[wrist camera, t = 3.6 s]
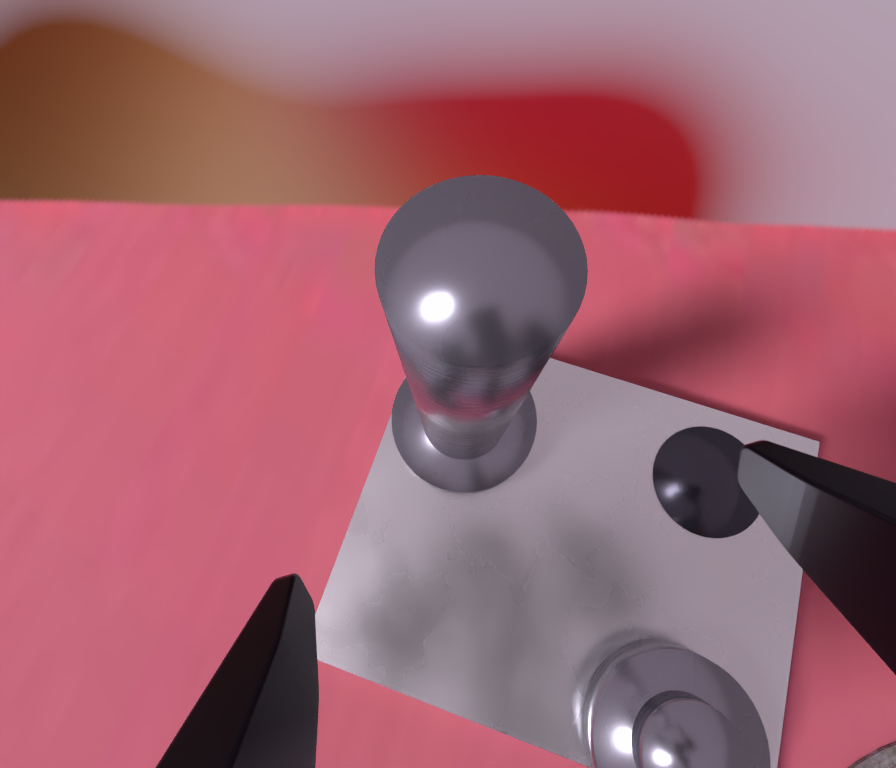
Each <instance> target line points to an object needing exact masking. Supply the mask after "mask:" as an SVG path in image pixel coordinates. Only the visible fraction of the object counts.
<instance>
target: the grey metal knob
mask: <svg viewBox="0 0 896 768" xmlns="http://www.w3.org/2000/svg"><path fill="white" fill-rule="evenodd" d="M582 731H583V738H584V743H585V747H586V751H587V754H588V757H589V759H590V762H591V764H592V767H593V768H771V766H770V751H769V745H768V739H767V736H766V732H765V728H764V725H763V723H762V720H761V718H760V715H759V713H758V711H757V709H756V707H755V705H754V703H753V702H752V700H751V699H750V697H749V696H748V694H747V693H746V691H745V690H744V689H743V688H742V687H741V685H740V684H739V683H738V682H737V681H736V680H735V679H734V678H733V677H732V676H731V675H730V674H729V673H728V672H726V671H725V670H724V669H722V668H721V667H720V666H719V665H717V664H715V663H713V662H712V661H710V660H708V659H707V658H705V657H703V656H701V655H700V654H698V653H696V652H694V651H692V650H691V649H689V648H687V647H685V646H682V645H680V644H678V643H674V642H671V641H668V640H661V639H644V640H637V641H634V642H631V643H628V644H626V645H624V646H621V647H619V648H618V649H616V650H615V651H613V652H612V653H611V654H610V655H608V656H607V657H606V658H605V659H604V660H603V661H602V663H601V664H600V665H599V666H598V667H597V669H596V671H595V672H594V674H593V676H592V677H591V680H590V682H589V684H588V687H587V690H586V693H585V697H584V702H583V708H582Z"/></svg>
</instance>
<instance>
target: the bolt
mask: <svg viewBox="0 0 896 768" xmlns="http://www.w3.org/2000/svg"><path fill="white" fill-rule="evenodd" d="M587 272H588V270H587V258H586V254H585V250H584V246H583V243H582V240H581V238H580V235H579V233H578V231H577V230H576V228H575V226H574V224H573V223H572V221H571V220H570V219H569V217H568V216H567V215H566V213H565V212H564V211H563V210H562V209H561V208H560V207H559V206H558V205H557V204H556V203H555V202H553V201H552V200H551V199H550V198H548V197H547V196H546V195H544V194H542V193H541V192H539V191H538V190H536V189H534V188H532V187H530V186H528V185H525V184H523V183H520V182H517V181H514V180H511V179H507V178H502V177H497V176H487V175H477V176H476V175H472V176H463V177H457V178H453V179H449V180H445V181H442V182H440V183H437V184H434V185H432V186H430V187H428V188H426V189H424V190H422V191H421V192H419V193H418V194H416V195H415V196H413V197H412V198H411V199H409V200H408V201H407V202H406V203H405V204H404V205H402V207H401V208H400V209H399V210H398V211H397V212H396V213H395V214H394V216H393V217H392V218H391V220H390V221H389V223H388V224H387V226H386V228H385V230H384V232H383V234H382V236H381V239H380V242H379V245H378V248H377V253H376V258H375V279H376V286H377V290H378V294H379V298H380V301H381V304H382V307H383V309H384V312H385V315H386V318H387V321H388V324H389V327H390V330H391V333H392V336H393V339H394V342H395V345H396V348H397V351H398V354H399V357H400V360H401V363H402V366H403V369H404V372H405V375H406V378H405V380H404V381H403V383H402V385H401V386H400V388H399V390H398V392H397V395H396V397H395V401H394V404H393V409H392V432H393V437H394V441H395V444H396V446H397V449H398V451H399V453H400V455H401V457H402V458H403V460H404V461H405V463H406V464H407V465H408V467H409V468H410V469H411V470H412V471H413V472H414V473H415V474H416V475H417V476H418V477H419V478H420V479H422V480H423V481H424V482H425V483H427V484H429V485H430V486H432V487H434V488H437V489H439V490H441V491H445V492H448V493H454V494H474V493H479V492H483V491H486V490H489V489H491V488H493V487H495V486H497V485H499V484H501V483H502V482H504V481H505V480H507V479H508V478H509V477H510V476H512V475H513V474H514V473H515V472H516V471H517V470H518V469H519V468H520V467H521V465H522V464H523V463H524V461H525V460H526V458H527V457H528V455H529V453H530V451H531V448H532V446H533V443H534V440H535V435H536V428H537V413H536V408H535V403H534V400H533V397H532V394H531V392H530V390H531V388H532V386H533V385H534V383H535V381H536V380H537V378H538V376H539V375H540V373H541V372H542V370H543V368H544V367H545V365H546V363H547V362H548V360H549V358H550V357H551V355H552V353H553V352H554V350H555V349H556V347H557V345H558V344H559V342H560V340H561V339H562V337H563V335H564V334H565V332H566V330H567V329H568V327H569V325H570V324H571V322H572V321H573V319H574V317H575V315H576V313H577V312H578V310H579V308H580V305H581V303H582V300H583V297H584V294H585V289H586V285H587Z"/></svg>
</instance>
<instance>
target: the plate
mask: <svg viewBox="0 0 896 768" xmlns="http://www.w3.org/2000/svg"><path fill="white" fill-rule="evenodd" d="M405 378H406V377H405ZM530 392H531V394H532V397H533V400H534V403H535V408H536V413H537V428H536V435H535V440H534V443H533V446H532V448H531V451H530V453H529V455H528V457H527V458H526V460H525V461H524V463H523V464H522V465H521V467H520V468H519V469H518V470H517V471H516V472H515V473H514V474H513V475H512V476H510V477H509V478H508V479H507V480H505V481H504V482H502V483H501V484H499V485H497V486H495V487H493V488H491V489H489V490H486V491H483V492H479V493H474V494H454V493H448V492H445V491H441V490H439V489H437V488H434V487H432V486H430V485H429V484H427V483H425V482H424V481H423V480H422V479H420V478H419V477H418V476H417V475H416V474H415V473H414V472H413V471H412V470H411V469H410V468H409V467H408V465H407V464H406V463H405V461H404V460H403V458H402V457H401V455H400V453H399V451H398V449H397V446H396V444H395V441H394V437H393V432H392V414H391V417H390V419H389V422H388V425H387V427H386V430H385V433H384V435H383V438H382V440H381V443H380V446H379V448H378V451H377V454H376V456H375V459H374V462H373V464H372V467H371V470H370V472H369V475H368V477H367V480H366V483H365V485H364V488H363V491H362V493H361V496H360V499H359V501H358V504H357V506H356V509H355V512H354V514H353V517H352V520H351V522H350V525H349V528H348V530H347V533H346V536H345V538H344V541H343V543H342V546H341V549H340V551H339V554H338V557H337V559H336V562H335V565H334V567H333V570H332V572H331V575H330V578H329V580H328V583H327V586H326V588H325V591H324V594H323V596H322V599H321V601H320V604H319V607H318V609H317V612H316V615H315V624H316V644H317V660H319V661H322V662H324V663H327V664H329V665H332V666H334V667H337V668H339V669H342V670H344V671H347V672H350V673H352V674H355V675H357V676H360V677H362V678H365V679H367V680H370V681H372V682H375V683H377V684H380V685H382V686H385V687H387V688H390V689H393V690H395V691H398V692H400V693H403V694H405V695H408V696H410V697H413V698H415V699H418V700H420V701H423V702H425V703H428V704H431V705H433V706H436V707H438V708H441V709H443V710H446V711H448V712H451V713H453V714H456V715H458V716H461V717H463V718H466V719H468V720H471V721H474V722H476V723H479V724H481V725H484V726H486V727H489V728H491V729H494V730H496V731H499V732H501V733H504V734H506V735H509V736H512V737H514V738H517V739H519V740H522V741H524V742H527V743H529V744H532V745H534V746H537V747H539V748H542V749H544V750H547V751H549V752H552V753H555V754H557V755H560V756H562V757H565V758H567V759H570V760H572V761H575V762H577V763H580V764H582V765H585V766H587V767H590V768H593V767H592V764H591V762H590V759H589V757H588V754H587V751H586V747H585V743H584V738H583V731H582V708H583V702H584V697H585V693H586V690H587V687H588V684H589V682H590V680H591V677H592V676H593V674H594V672H595V671H596V669H597V667H598V666H599V665H600V664H601V663H602V661H603V660H604V659H605V658H606V657H607V656H608V655H610V654H611V653H612V652H613V651H615V650H616V649H618V648H619V647H621V646H624V645H626V644H628V643H631V642H634V641H637V640H644V639H661V640H668V641H671V642H674V643H678V644H680V645H682V646H685V647H687V648H689V649H691V650H692V651H694V652H696V653H698V654H700V655H701V656H703V657H705V658H707V659H708V660H710V661H712V662H713V663H715V664H717V665H719V666H720V667H721V668H722V669H724V670H725V671H726V672H728V673H729V674H730V675H731V676H732V677H733V678H734V679H735V680H736V681H737V682H738V683H739V684H740V685H741V687H742V688H743V689H744V690H745V691H746V693H747V694H748V696H749V697H750V699H751V700H752V702H753V703H754V705H755V707H756V709H757V711H758V713H759V715H760V718H761V720H762V723H763V725H764V728H765V732H766V736H767V739H768V745H769V751H770V766H771V768H777V766H778V758H779V750H780V743H781V735H782V727H783V720H784V712H785V704H786V696H787V689H788V681H789V673H790V666H791V658H792V650H793V643H794V635H795V627H796V619H797V612H798V604H799V596H800V589H801V581H802V573H803V569H802V568H801V567H800V566H799V565H798V564H797V562H796V561H795V560H794V559H793V558H792V556H791V555H790V554H789V553H788V552H787V550H786V549H785V548H784V546H783V545H782V544H781V542H780V541H779V540H778V538H777V537H776V536H775V534H774V533H773V531H772V530H771V529H770V527H769V526H768V525H767V523H766V522H765V520H764V519H763V518H762V516H761V515H760V514H759V512H758V511H757V509H756V508H755V507H754V505H753V504H752V503H751V501H750V500H749V498H748V497H747V496H746V494H745V493H744V492H743V490H742V489H741V487H740V485H739V483H738V480H737V469H738V463H739V456H740V451H741V448H742V447H743V446H744V445H746V444H749V443H752V442H756V441H760V440H766V441H770V442H773V443H776V444H779V445H782V446H785V447H788V448H791V449H794V450H797V451H800V452H803V453H806V454H809V455H812V456H815V457H818V450H819V443H820V442H819V441H815V440H812V439H809V438H806V437H803V436H799V435H796V434H793V433H790V432H786V431H783V430H780V429H777V428H774V427H770V426H767V425H764V424H761V423H758V422H754V421H751V420H748V419H745V418H742V417H738V416H735V415H732V414H729V413H725V412H722V411H719V410H716V409H713V408H709V407H706V406H703V405H700V404H697V403H693V402H690V401H687V400H684V399H681V398H677V397H674V396H671V395H668V394H664V393H661V392H658V391H655V390H652V389H648V388H645V387H642V386H639V385H636V384H632V383H629V382H626V381H623V380H620V379H616V378H613V377H610V376H607V375H603V374H600V373H597V372H594V371H591V370H587V369H584V368H581V367H578V366H575V365H571V364H568V363H565V362H562V361H558V360H555V359H552V358H549V360H548V362H547V363H546V365H545V367H544V368H543V370H542V372H541V373H540V375H539V376H538V378H537V380H536V381H535V383H534V385H533V386H532V388H531V390H530Z"/></svg>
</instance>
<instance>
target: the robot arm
mask: <svg viewBox="0 0 896 768" xmlns="http://www.w3.org/2000/svg"><path fill="white" fill-rule="evenodd" d="M737 480H738V483H739V485H740V487H741V489H742V490H743V492H744V493H745V494H746V496H747V497H748V498H749V500H750V501H751V503H752V504H753V505H754V507H755V508H756V509H757V511H758V512H759V514H760V515H761V516H762V518H763V519H764V520H765V522H766V523H767V525H768V526H769V527H770V529H771V530H772V531H773V533H774V534H775V536H776V537H777V538H778V540H779V541H780V542H781V544H782V545H783V546H784V548H785V549H786V550H787V552H788V553H789V554H790V555H791V556H792V558H793V559H794V560H795V561H796V562H797V564H798V565H799V566H800V567H801V568H802V569H803V570H804V571H805V573H806V574H807V575H808V576H809V577H810V578H811V579H812V581H813V582H814V583H815V584H816V585H817V586H818V587H819V588H820V590H821V591H822V592H823V593H824V594H825V595H826V596H827V598H828V599H829V600H830V601H831V602H832V603H833V604H834V606H835V607H836V608H837V609H838V610H839V611H840V612H841V613H842V615H843V616H844V617H845V618H846V619H847V620H848V621H849V623H850V624H851V625H852V626H853V627H854V628H855V629H856V630H857V632H858V633H859V634H860V635H861V636H862V637H863V638H864V640H865V641H866V642H867V643H868V644H869V645H870V646H871V647H872V649H873V650H874V651H875V652H876V653H877V654H878V655H879V657H880V658H881V659H882V660H883V661H884V662H885V663H886V665H887V666H888V667H889V668H890V669H891V670H892V671H893V672H894V674H895V675H896V483H894V482H891V481H888V480H885V479H882V478H879V477H876V476H873V475H870V474H867V473H864V472H861V471H858V470H855V469H851V468H848V467H845V466H842V465H839V464H836V463H833V462H830V461H827V460H824V459H821V458H818V457H815V456H812V455H809V454H806V453H803V452H800V451H797V450H794V449H791V448H788V447H785V446H782V445H779V444H776V443H773V442H770V441H766V440H760V441H756V442H752V443H749V444H746V445H744V446H743V447H742V448H741V451H740V456H739V463H738V469H737ZM318 705H319V685H318V663H317V644H316V624H315V609H314V604H313V600H312V598H311V596H310V594H309V593H308V591H307V589H306V587H305V585H304V583H303V582H302V580H301V578H300V577H299V575H297V574H290V575H286V576H283V577H279V578H277V579H275V580H274V581H273V582H272V584H271V585H270V587H269V588H268V590H267V592H266V593H265V595H264V596H263V598H262V600H261V601H260V603H259V604H258V606H257V607H256V609H255V611H254V612H253V614H252V615H251V617H250V619H249V620H248V622H247V623H246V625H245V627H244V628H243V630H242V631H241V633H240V634H239V636H238V638H237V639H236V641H235V642H234V644H233V646H232V647H231V649H230V650H229V652H228V654H227V655H226V657H225V658H224V660H223V662H222V663H221V665H220V666H219V668H218V669H217V671H216V673H215V674H214V676H213V677H212V679H211V681H210V682H209V684H208V685H207V687H206V689H205V690H204V692H203V693H202V695H201V696H200V698H199V700H198V701H197V703H196V704H195V706H194V708H193V709H192V711H191V712H190V714H189V716H188V717H187V719H186V720H185V722H184V723H183V725H182V727H181V728H180V730H179V731H178V733H177V735H176V736H175V738H174V739H173V741H172V743H171V744H170V746H169V747H168V749H167V751H166V752H165V754H164V755H163V757H162V758H161V760H160V762H159V763H158V765H157V766H156V768H315V762H316V743H317V725H318Z"/></svg>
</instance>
